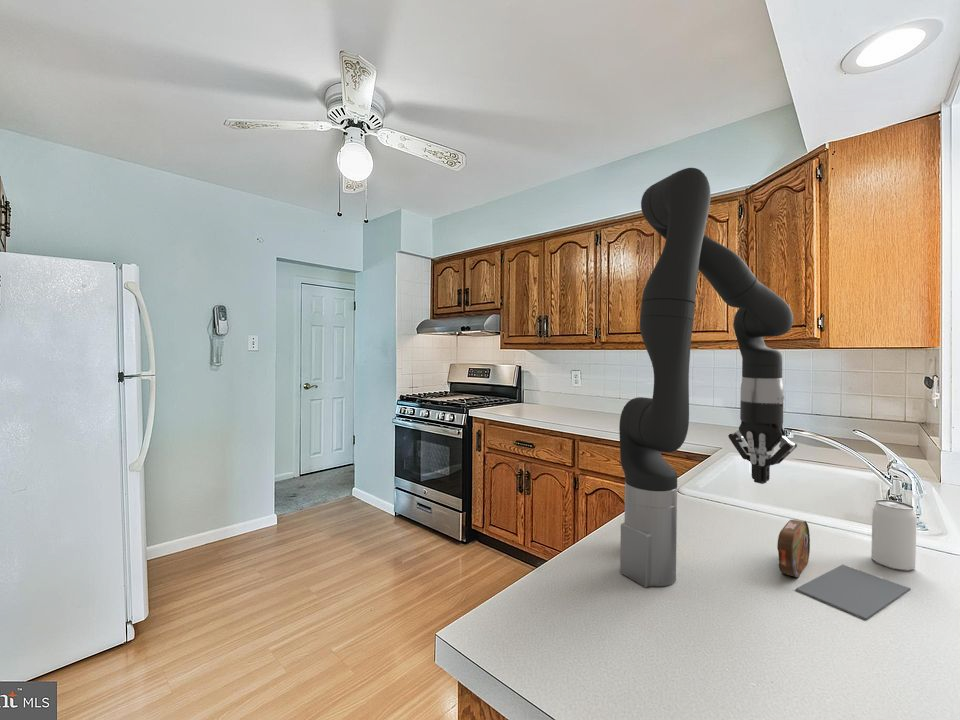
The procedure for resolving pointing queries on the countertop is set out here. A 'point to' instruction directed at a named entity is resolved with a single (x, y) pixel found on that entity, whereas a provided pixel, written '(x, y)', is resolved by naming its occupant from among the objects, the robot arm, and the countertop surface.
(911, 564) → the can
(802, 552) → the tin
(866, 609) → the mat
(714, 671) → the countertop surface
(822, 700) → the countertop surface
